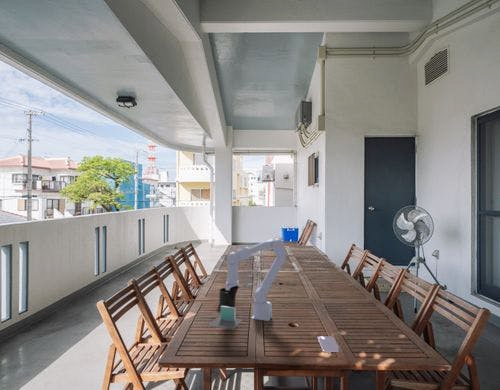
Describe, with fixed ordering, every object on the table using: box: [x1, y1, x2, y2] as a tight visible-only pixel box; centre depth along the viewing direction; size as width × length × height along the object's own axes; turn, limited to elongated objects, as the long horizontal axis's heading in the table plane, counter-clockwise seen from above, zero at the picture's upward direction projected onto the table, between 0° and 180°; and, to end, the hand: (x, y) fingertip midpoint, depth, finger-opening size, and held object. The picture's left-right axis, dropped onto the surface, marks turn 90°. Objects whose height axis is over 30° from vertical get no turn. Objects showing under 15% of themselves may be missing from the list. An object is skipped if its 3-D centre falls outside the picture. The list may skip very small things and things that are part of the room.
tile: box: [220, 306, 237, 322], centre depth 174 cm, size 8×1×7 cm, turn 71°
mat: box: [208, 315, 243, 330], centre depth 171 cm, size 14×13×1 cm
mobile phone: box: [317, 335, 340, 354], centre depth 148 cm, size 8×1×15 cm
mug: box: [218, 287, 236, 307], centre depth 196 cm, size 9×12×9 cm
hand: (232, 299), depth 179 cm, fingers closed
